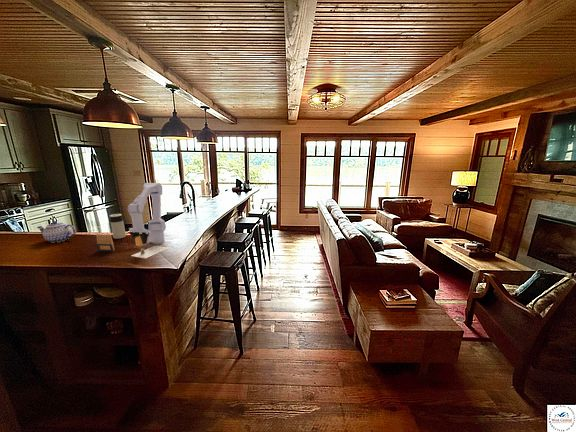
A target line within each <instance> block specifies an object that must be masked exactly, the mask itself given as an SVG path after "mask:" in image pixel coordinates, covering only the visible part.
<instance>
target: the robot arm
mask: <svg viewBox="0 0 576 432" xmlns="http://www.w3.org/2000/svg"><path fill="white" fill-rule="evenodd" d="M142 188H143V189H142V192H141V193H140V195H137V196H136V197H135V199H134V200H133V201H132V203H130V204H128V205H127V212H128V214H129V216H130V217H131V224H132V227H129V228H128V232H130V233H129V235H130V236H131V237H132V239H133V241H134V242H135V237H136V236H140V237H141V239H142V243H143V244H145V245H147V244H146V243H148V239H149V242H150V243H153V244H161V243H164V242H166V241H165V233H164V232H165V231H166V229H167V225H166V221H165V220H164V219H163V218H162V217H161V215H162V214H161V213H162V212H161V211H162V209H161V208H162V207H161V205H162V203H161V196H162V195H163V186H162V184H161V183H160V182H145V183H144V184H143V187H142ZM149 196H151V198H152V199H151V201H152V219H150V220H149V222H148V227H147V228H148V229H147V228H145V224H144V218H143V212H144V207H145V204H146V203H147V201H148V199H147V198H148V197H149ZM135 244H136V242H135Z"/></svg>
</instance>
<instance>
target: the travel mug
mask: <svg viewBox="0 0 576 432" xmlns="http://www.w3.org/2000/svg"><path fill="white" fill-rule="evenodd" d="M109 217H110V219H109V221H110V228H111V233H112V237H113V238H112V239H117V240H118V239H119V240H120V239H123V238H125V237H127V236H126V230H125V229H126V228H125V224H124V223H125V222H124V218H123V217H122V213H113V214H110V215H109Z"/></svg>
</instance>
